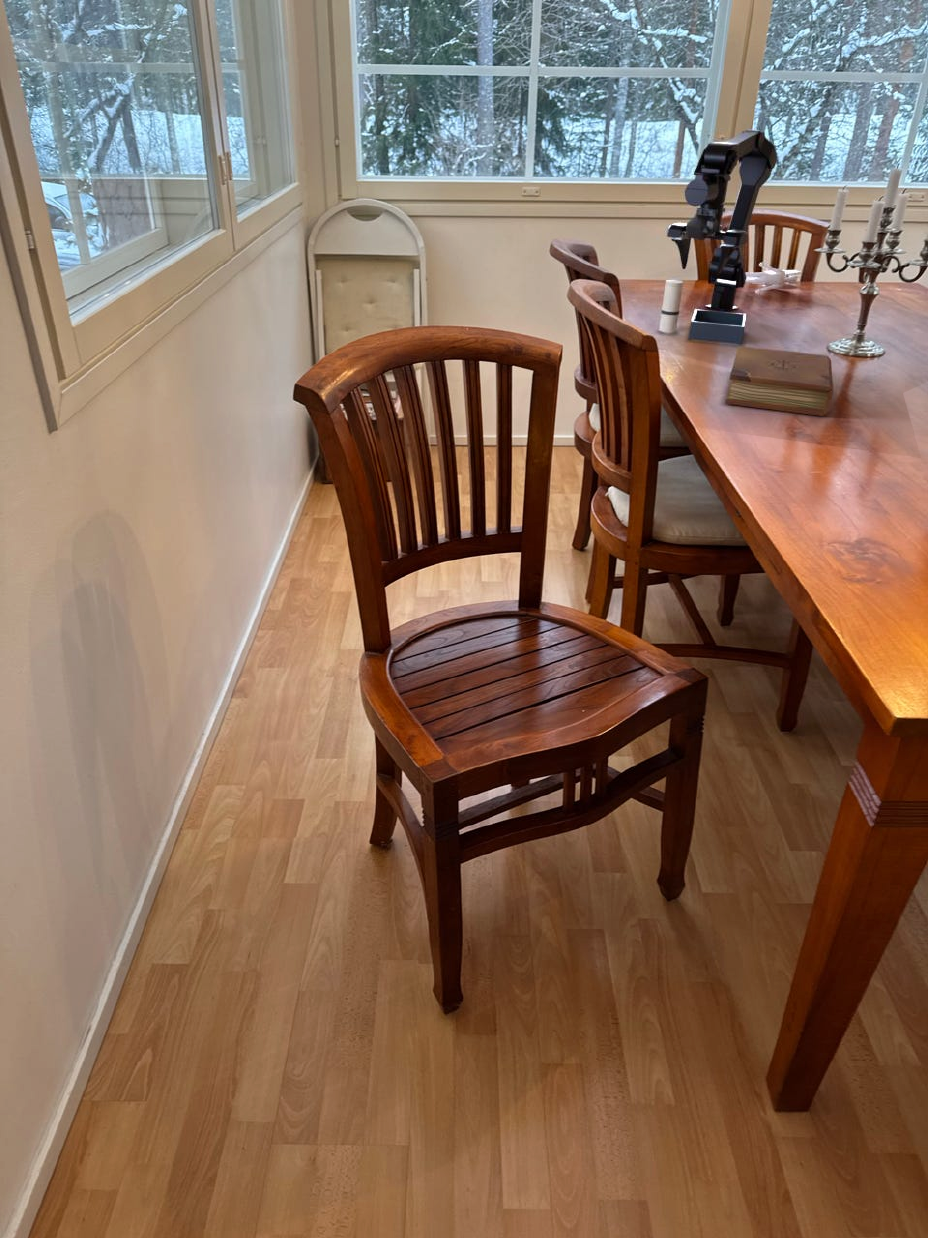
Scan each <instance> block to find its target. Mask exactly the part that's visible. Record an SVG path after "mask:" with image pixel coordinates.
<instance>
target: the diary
mask: <svg viewBox="0 0 928 1238" xmlns="http://www.w3.org/2000/svg"><path fill="white" fill-rule="evenodd" d="M832 367H833V366H832V360H831V358H830V357H829V355H826V354H825V355H824V354H815V353H806V352H797V351H790V350H789V351H788V350H779V349H771V348H760V347H753V346H744V345H738V347H737V349H736V353H735V357H734V361H733V363H732V368H731V371H730V373H729V374H730V375H729V380H730V381H729V386H728V389H727V393H726V397H725V401H724V404H726V405H732V406H733V405H734V406H741V407H749V408H757V409H763V410H773V411H779V412H786V413H787V412H789V413H796V414H804V415H812V416H819V417H824V416H825V415H827V413H829V410H830V406H831V403H832V399H833V395H834V383H833V382H834V381H833V369H832Z"/></svg>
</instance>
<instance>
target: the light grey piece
mask: <svg viewBox="0 0 928 1238" xmlns="http://www.w3.org/2000/svg"><path fill="white" fill-rule="evenodd" d="M683 288H684V281H683V280H681V279H666V280H665V287H664V293H663V301H662V308H661V312H660V313H661V315H660V322H659V329H658V331H660V332H661V333H666V334H667V333H670V334H671V333H676V332H677V328H678V327H677V325H678V319H679V314H680V307H681V300H682V293H683Z"/></svg>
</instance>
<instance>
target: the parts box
mask: <svg viewBox="0 0 928 1238" xmlns="http://www.w3.org/2000/svg"><path fill="white" fill-rule="evenodd" d="M746 319H747V313H740V312H731V311H728V312H723V311H719V310H708V309H697V308H695V309H694V312H693V314H692V317H691V321H690V326H689V332H688V339H687V340H693V341H701V342H711V343H712V342H714V343H722V344H723V343H724V344H732V345H742V342H743V337H744V333H745V328H746Z"/></svg>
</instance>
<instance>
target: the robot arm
mask: <svg viewBox="0 0 928 1238" xmlns="http://www.w3.org/2000/svg"><path fill="white" fill-rule="evenodd" d="M777 162H778V154H777V150H776V146H775V144H773V143H772V142H771V141H770V140H769V139H768V138H767V137H766V135H765V132H764V131H762V130H761V129H760V130H759V129H745V130H742V131H741V133H739V134H737V135H736V136H733V137H732V138H730V139H728V140H727V141H726V140H725V141H714V142H709V143H707V144H706V146H705V147H704V149H703V150H702V152H701V155H700V157H699V159H698V162H697V165H696V167H695V168H694V172H693V176H695V177H694V179H693V180H691V181H690V182H689V183H688V184H687V186H686V188H685V190H684V198H685V201H686V203H687V204H688V205H689V206H692V207H697V208H696V211H695V214H694V216H693V217H691V218H690V220H689V221H688V222H686V223H684V222H676V223H671V224H670V225H669V226H668V228H667V230H666V231H667V232H666V237H667V238H670V239H671V242H674V243H675V245H676V246H677V249H678V252H679V257H680V263H681V268H682V270H686V268H687V265H688V261H689V254H690V250H691V243H692V239H695V240H698V241H704V240H706V239H709V240H718V241H722V242H723V243H722V244H720V246H717V247H715V249H714V250H713V254H712V258H711V260H710V261H709V264H708V267H707V268H708V269H707V270H708V271H707V284H709V285H711V284H712V285H713V290H712V295H711V301H710V304H707V305H705V308H706V309H711V310H713V311H719V312H731V311H735V310H738V309H739V306H737V305H735V300H736V294H737V289H740V288H745V284H746V283H745V282H746V273H747V272H746V269H745V262H746V261H745V259H746V257H745V254H744V250H743V246H744V245H746V244H747V243H748V240H749V239H748V238H749V234H748V228H749V226H750V223H751V218H752V216H753V212H754V208H755V205H756V201H757V199H758V195H759V192H760V189H761V188H762V186H764V184H765V183H766V182H768V181H769V179H770V178H771V175H772V172H773V170H774V169H775V167H776V165H777ZM738 163H739V168H738V174H739V177H740V181H741V184H740V188H739V191H738V194H737V198H736V201H735V204H734V208H733V210H732V215H731V217H730V221H729V225H728V228H727V230H726V231H723V225H722V220H723V214H724V213H725V212H726V207H725V202H726V197H727V191H728V185H729V181H731V180H732V179H731V175H732V173H733V171H734V169H735V167H737V166H738ZM735 281H736V282H735Z"/></svg>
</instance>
